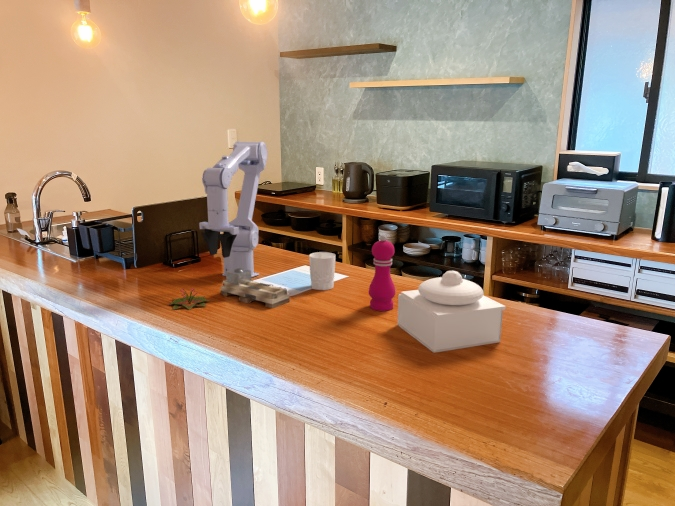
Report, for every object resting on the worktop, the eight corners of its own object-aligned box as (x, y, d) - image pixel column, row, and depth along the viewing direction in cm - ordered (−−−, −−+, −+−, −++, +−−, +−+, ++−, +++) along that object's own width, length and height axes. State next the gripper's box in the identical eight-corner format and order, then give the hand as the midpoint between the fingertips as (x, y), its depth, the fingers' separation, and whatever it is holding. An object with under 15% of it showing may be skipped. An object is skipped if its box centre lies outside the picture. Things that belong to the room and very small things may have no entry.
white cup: (336, 283, 166) (336, 252, 163) (333, 291, 158) (334, 258, 156) (311, 282, 167) (311, 251, 164) (307, 290, 159) (307, 257, 157)
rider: (226, 286, 154) (226, 270, 153) (239, 282, 158) (238, 266, 157) (239, 289, 151) (238, 273, 150) (251, 285, 155) (251, 269, 154)
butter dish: (397, 325, 132) (399, 263, 128) (459, 317, 138) (463, 257, 134) (433, 353, 116) (437, 283, 112) (502, 342, 122) (508, 276, 119)
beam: (218, 295, 154) (217, 282, 153) (241, 287, 161) (240, 275, 160) (269, 309, 142) (269, 295, 142) (291, 300, 150) (291, 287, 149)
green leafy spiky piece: (212, 310, 143) (212, 294, 142) (166, 314, 140) (164, 297, 139) (210, 296, 154) (209, 281, 153) (167, 299, 151) (166, 284, 150)
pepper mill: (393, 312, 141) (396, 238, 136) (366, 310, 142) (367, 237, 137) (396, 303, 148) (398, 232, 143) (370, 302, 149) (371, 231, 144)
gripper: (190, 209, 154) (192, 254, 158) (224, 213, 146) (226, 262, 149) (209, 206, 160) (211, 250, 163) (243, 210, 152) (245, 257, 155)
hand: (219, 255), depth 157 cm, fingers open, 5 cm apart
